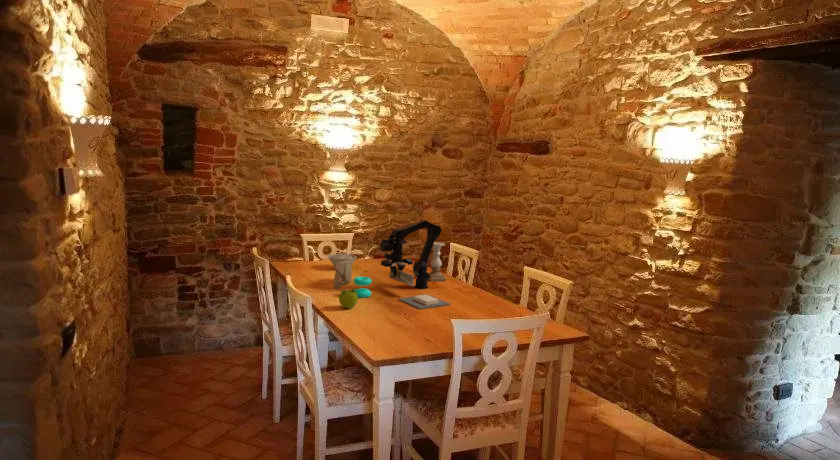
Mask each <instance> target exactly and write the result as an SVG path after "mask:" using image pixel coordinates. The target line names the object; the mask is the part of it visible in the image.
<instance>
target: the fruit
mask: <svg viewBox="0 0 840 460" xmlns="http://www.w3.org/2000/svg"><path fill="white" fill-rule="evenodd" d="M357 289H358V288H353V289H343V290H340V291H339V292H340V293H339V296H338V300H339V301H338V302H339V303H340V305H341V307H343V309H349V310H350V309H352V308H354V307H355V306H356V304H357V303H358V301H359V299H358V298H359V297H357V294H356V292H355V291H354V290H357Z"/></svg>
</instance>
